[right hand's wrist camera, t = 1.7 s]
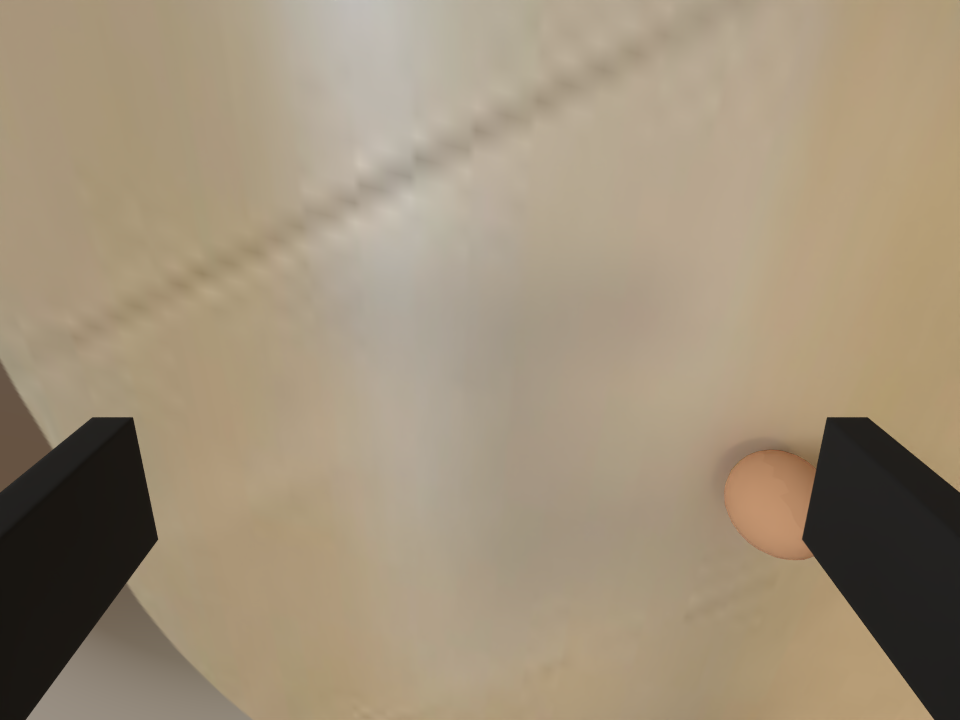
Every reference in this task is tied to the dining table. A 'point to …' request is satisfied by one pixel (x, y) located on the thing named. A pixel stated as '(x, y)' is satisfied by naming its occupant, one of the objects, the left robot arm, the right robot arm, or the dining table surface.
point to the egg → (771, 502)
